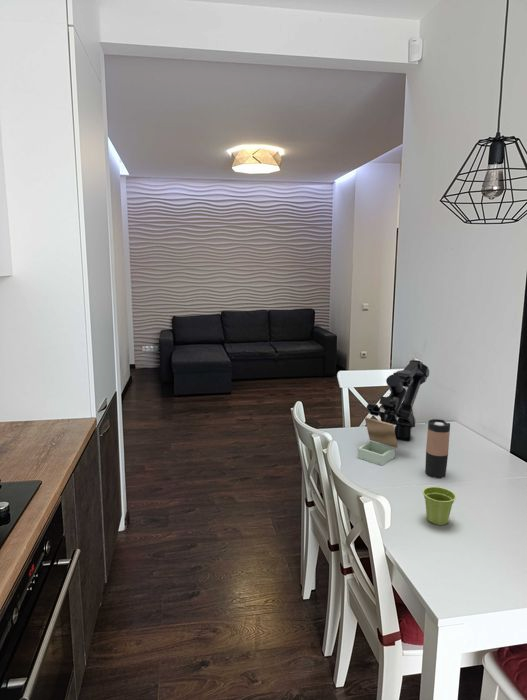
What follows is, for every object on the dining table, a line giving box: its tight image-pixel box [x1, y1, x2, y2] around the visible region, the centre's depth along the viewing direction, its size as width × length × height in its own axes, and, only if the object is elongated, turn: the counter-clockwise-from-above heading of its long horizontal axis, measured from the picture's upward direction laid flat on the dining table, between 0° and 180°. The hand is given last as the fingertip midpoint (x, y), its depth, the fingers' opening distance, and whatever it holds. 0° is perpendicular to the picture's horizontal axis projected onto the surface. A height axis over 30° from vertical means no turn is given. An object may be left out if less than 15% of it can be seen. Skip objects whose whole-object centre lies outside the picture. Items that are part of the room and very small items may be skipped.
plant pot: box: [422, 486, 457, 526], centre depth 143 cm, size 9×9×9 cm
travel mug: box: [424, 418, 451, 479], centre depth 172 cm, size 8×8×20 cm
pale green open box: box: [357, 440, 396, 466], centre depth 188 cm, size 10×11×4 cm
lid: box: [364, 417, 398, 449], centre depth 189 cm, size 12×12×1 cm
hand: (381, 431), depth 189 cm, fingers closed, pressing on lid
